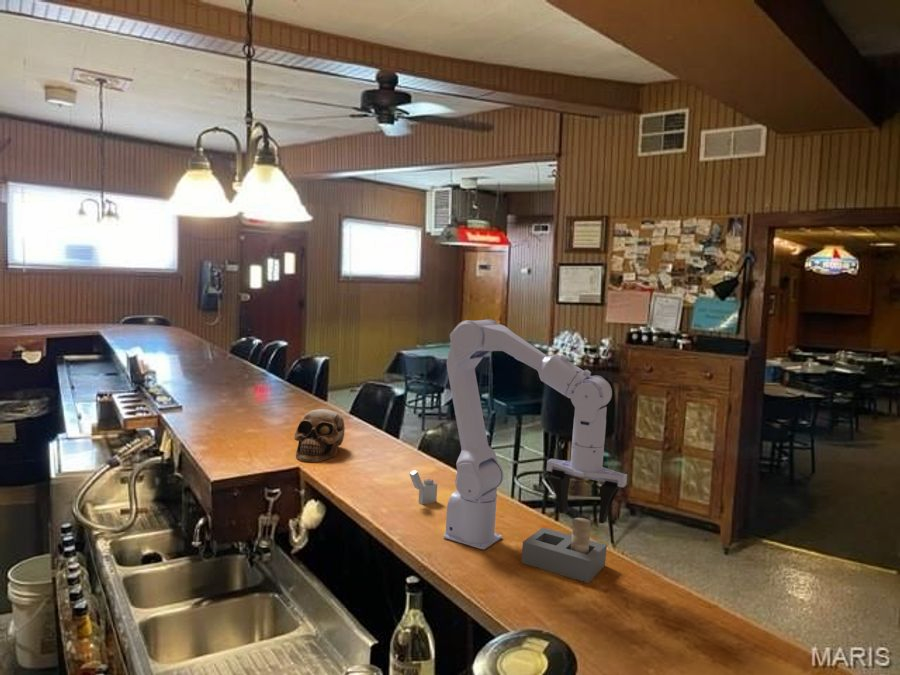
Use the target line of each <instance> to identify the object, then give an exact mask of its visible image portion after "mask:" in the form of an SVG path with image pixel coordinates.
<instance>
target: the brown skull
mask: <svg viewBox="0 0 900 675" xmlns="http://www.w3.org/2000/svg"><path fill="white" fill-rule="evenodd" d="M345 428H346V427H345V420H344V418H343V416H342V415H341V414H340V413H339V412H338V411H334V410H331V409H327V408H326V409H323V408H319V409H313V410H309V411H308V412H306V413H305V414H304V416H303V419H301V421H300V422H299V423H298V426H297V427H296V430H295V433H294V437H293V438H294V440H295V441H298V445H297V448H296V453H295V458H296V459H297V460H299V461H300V462H304V463H319V462H323V461H326V460H329V459H331V458H335V457H337V454H338V449H339V446H341V445H342V444H343V442H344V437H345V431H346V430H345Z"/></svg>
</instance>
